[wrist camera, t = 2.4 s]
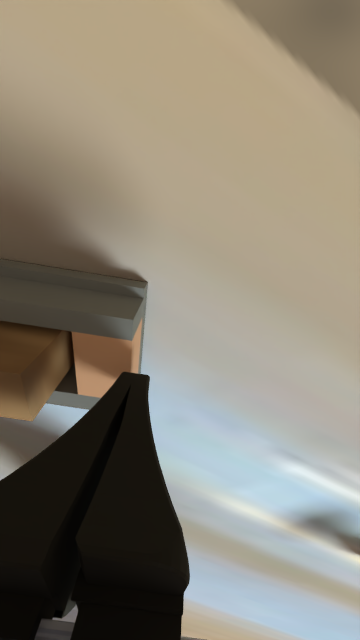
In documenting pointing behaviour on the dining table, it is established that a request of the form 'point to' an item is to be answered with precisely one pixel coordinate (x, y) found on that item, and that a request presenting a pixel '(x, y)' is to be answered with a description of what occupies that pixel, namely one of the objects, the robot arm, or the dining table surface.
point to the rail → (80, 323)
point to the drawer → (31, 367)
